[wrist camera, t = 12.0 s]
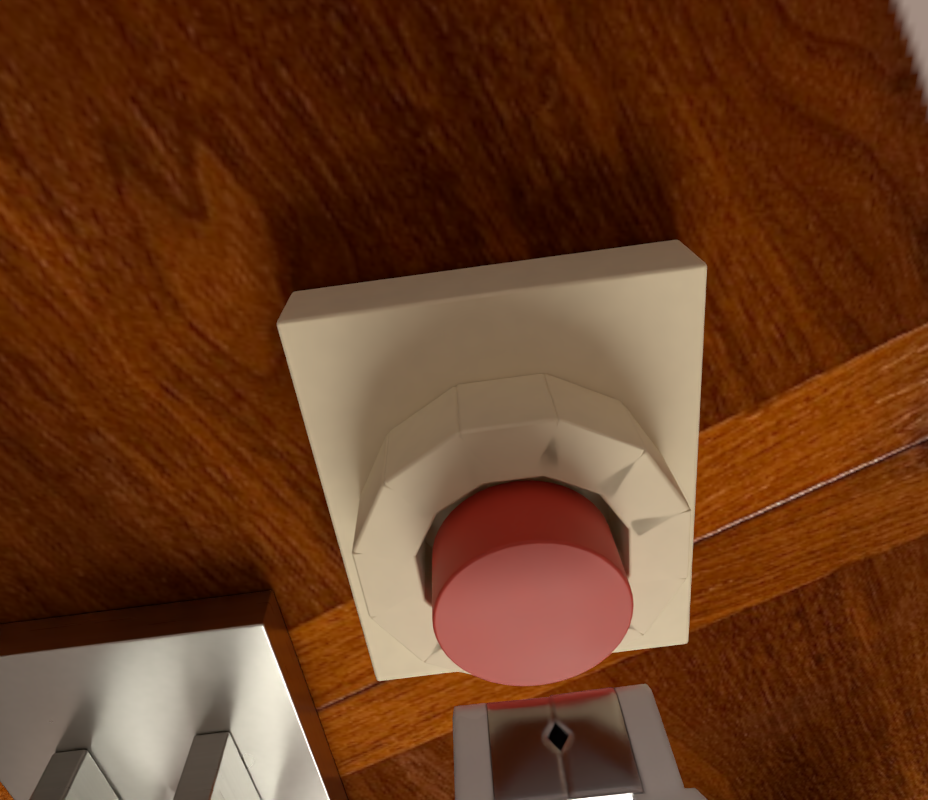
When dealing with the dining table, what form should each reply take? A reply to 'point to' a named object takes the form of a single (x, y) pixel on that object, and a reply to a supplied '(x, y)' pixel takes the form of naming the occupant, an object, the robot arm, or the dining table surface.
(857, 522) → the dining table surface
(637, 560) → the button box
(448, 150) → the dining table surface
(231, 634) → the bracket
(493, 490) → the button
